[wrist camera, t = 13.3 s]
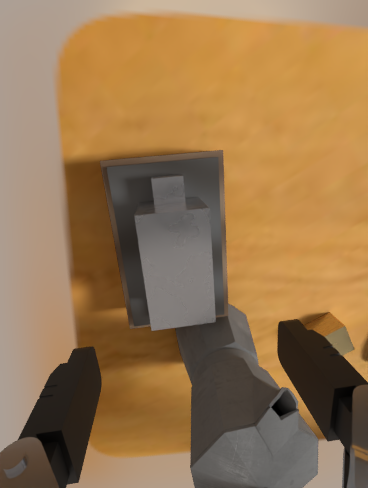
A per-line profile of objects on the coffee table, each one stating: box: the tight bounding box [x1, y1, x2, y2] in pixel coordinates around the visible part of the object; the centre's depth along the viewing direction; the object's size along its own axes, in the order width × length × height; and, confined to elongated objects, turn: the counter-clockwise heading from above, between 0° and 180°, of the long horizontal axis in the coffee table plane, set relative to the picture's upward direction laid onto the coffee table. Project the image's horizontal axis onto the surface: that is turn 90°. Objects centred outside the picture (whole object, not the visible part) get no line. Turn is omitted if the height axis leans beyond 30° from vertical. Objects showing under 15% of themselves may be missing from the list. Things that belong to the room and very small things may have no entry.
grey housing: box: [134, 174, 216, 331], centre depth 21 cm, size 5×13×5 cm, turn 5°
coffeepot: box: [175, 304, 318, 488], centre depth 24 cm, size 15×9×18 cm, turn 166°
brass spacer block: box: [304, 312, 354, 355], centre depth 32 cm, size 4×4×3 cm
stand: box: [100, 150, 228, 329], centre depth 25 cm, size 16×10×4 cm, turn 5°
